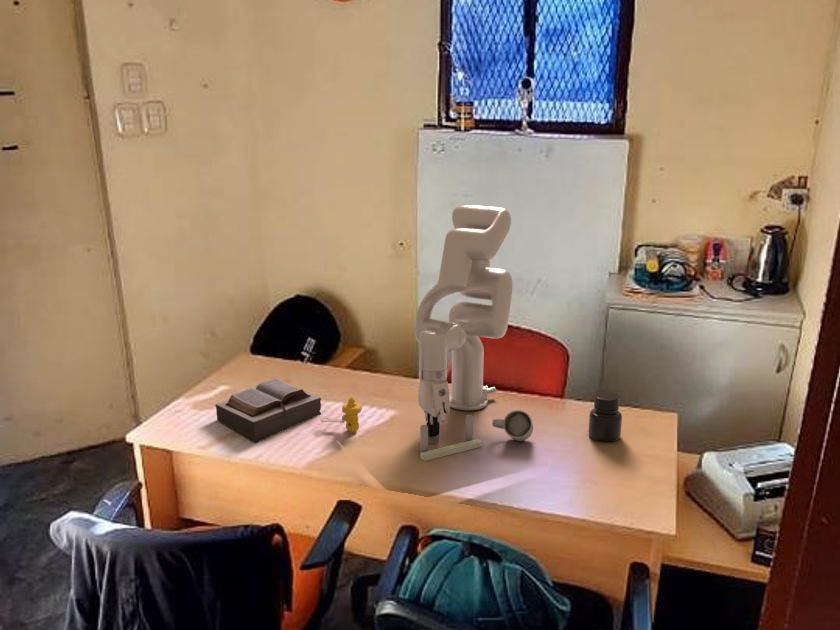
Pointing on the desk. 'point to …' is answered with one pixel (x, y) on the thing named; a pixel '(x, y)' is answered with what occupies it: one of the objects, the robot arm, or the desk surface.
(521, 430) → the ceramic mug
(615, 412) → the ink bottle
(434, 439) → the half round rod
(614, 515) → the desk surface
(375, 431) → the desk surface
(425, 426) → the peg rack
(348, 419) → the pressure relief valve
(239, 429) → the bible
